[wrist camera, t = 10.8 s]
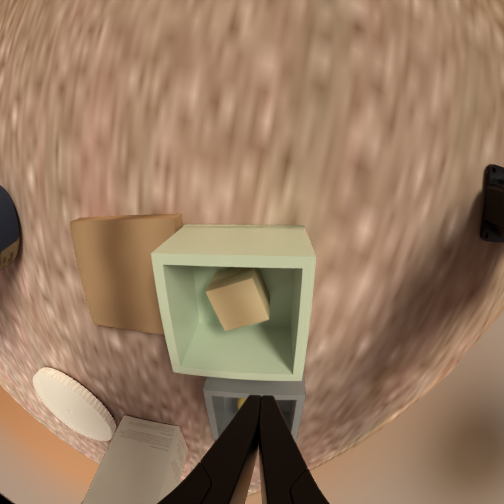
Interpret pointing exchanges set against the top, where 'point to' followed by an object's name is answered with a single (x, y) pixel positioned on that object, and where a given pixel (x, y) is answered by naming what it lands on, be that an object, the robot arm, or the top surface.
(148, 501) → the skincare box
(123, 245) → the lid
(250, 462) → the robot arm
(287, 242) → the pale green hollow box
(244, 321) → the cube
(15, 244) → the canister
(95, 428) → the plastic lid
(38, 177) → the top surface
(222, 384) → the grey open box
